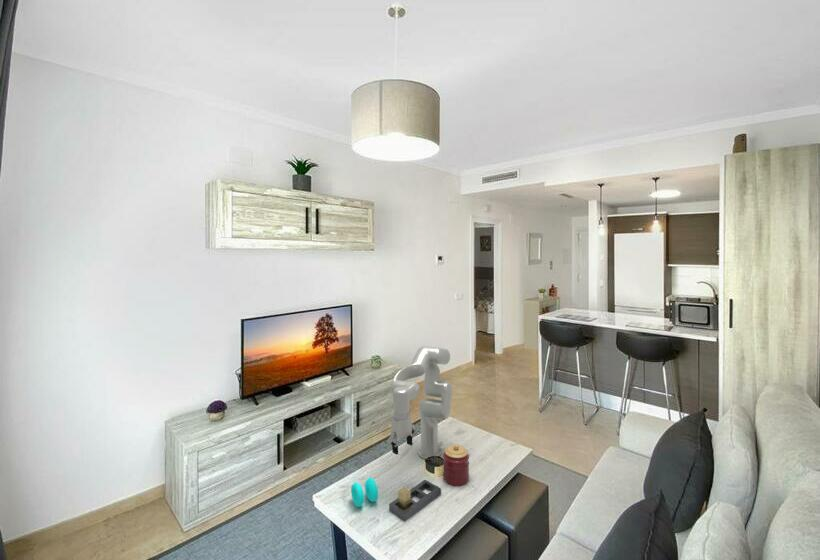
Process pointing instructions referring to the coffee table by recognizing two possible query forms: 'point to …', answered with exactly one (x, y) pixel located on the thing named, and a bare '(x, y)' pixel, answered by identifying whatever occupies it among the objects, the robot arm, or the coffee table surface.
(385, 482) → the coffee table surface
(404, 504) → the brass peg
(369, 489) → the donuts
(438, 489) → the grey flat slotted block
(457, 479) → the canister
